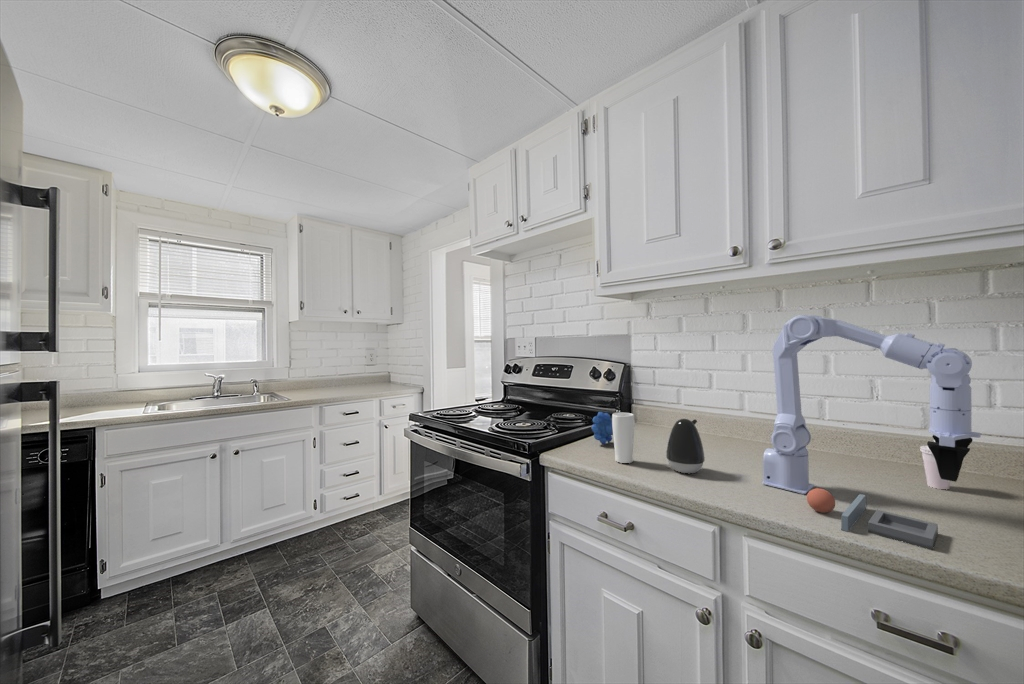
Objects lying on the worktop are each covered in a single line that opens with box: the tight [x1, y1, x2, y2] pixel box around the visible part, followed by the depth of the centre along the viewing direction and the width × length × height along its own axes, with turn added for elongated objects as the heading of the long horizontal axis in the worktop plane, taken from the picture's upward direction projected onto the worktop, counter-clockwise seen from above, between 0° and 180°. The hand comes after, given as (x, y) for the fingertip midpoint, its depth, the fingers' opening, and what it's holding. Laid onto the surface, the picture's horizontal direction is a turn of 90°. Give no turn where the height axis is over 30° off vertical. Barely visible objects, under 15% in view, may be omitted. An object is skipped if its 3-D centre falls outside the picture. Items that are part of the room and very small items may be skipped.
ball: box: [806, 487, 836, 514], centre depth 88 cm, size 5×5×5 cm
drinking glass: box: [611, 411, 635, 464], centre depth 126 cm, size 7×7×15 cm
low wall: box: [840, 493, 867, 533], centre depth 85 cm, size 1×16×3 cm, turn 129°
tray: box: [867, 509, 939, 551], centre depth 78 cm, size 9×9×2 cm
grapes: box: [591, 411, 613, 445], centre depth 146 cm, size 12×7×12 cm, turn 125°
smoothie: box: [919, 439, 951, 491], centre depth 100 cm, size 6×6×14 cm
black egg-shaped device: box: [665, 418, 706, 475], centre depth 116 cm, size 10×10×15 cm
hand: (950, 475), depth 81 cm, fingers open, 7 cm apart
